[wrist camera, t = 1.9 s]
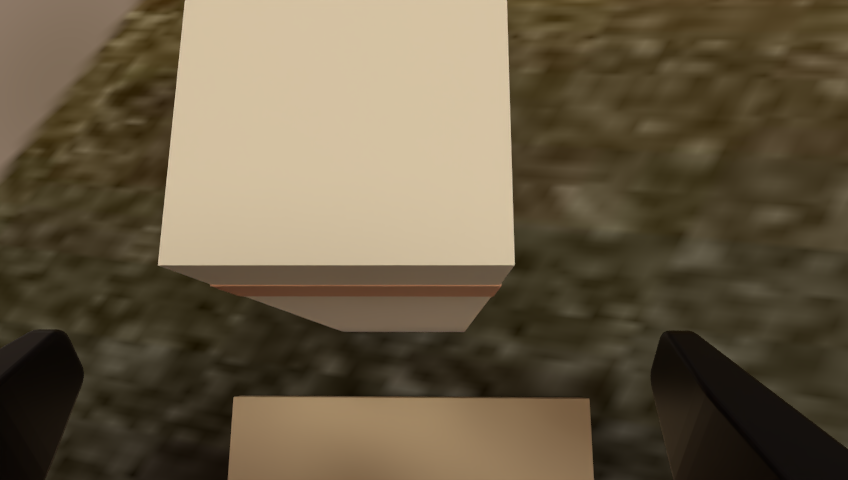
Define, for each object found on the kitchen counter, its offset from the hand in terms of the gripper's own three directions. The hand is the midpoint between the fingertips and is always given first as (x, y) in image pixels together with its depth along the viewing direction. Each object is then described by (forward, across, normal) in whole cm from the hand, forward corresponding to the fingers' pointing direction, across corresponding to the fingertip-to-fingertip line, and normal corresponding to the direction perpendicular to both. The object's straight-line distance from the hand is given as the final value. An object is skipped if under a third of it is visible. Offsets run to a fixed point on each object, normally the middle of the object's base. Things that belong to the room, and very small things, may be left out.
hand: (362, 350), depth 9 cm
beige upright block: (+10, 0, +5) cm, 11 cm away
